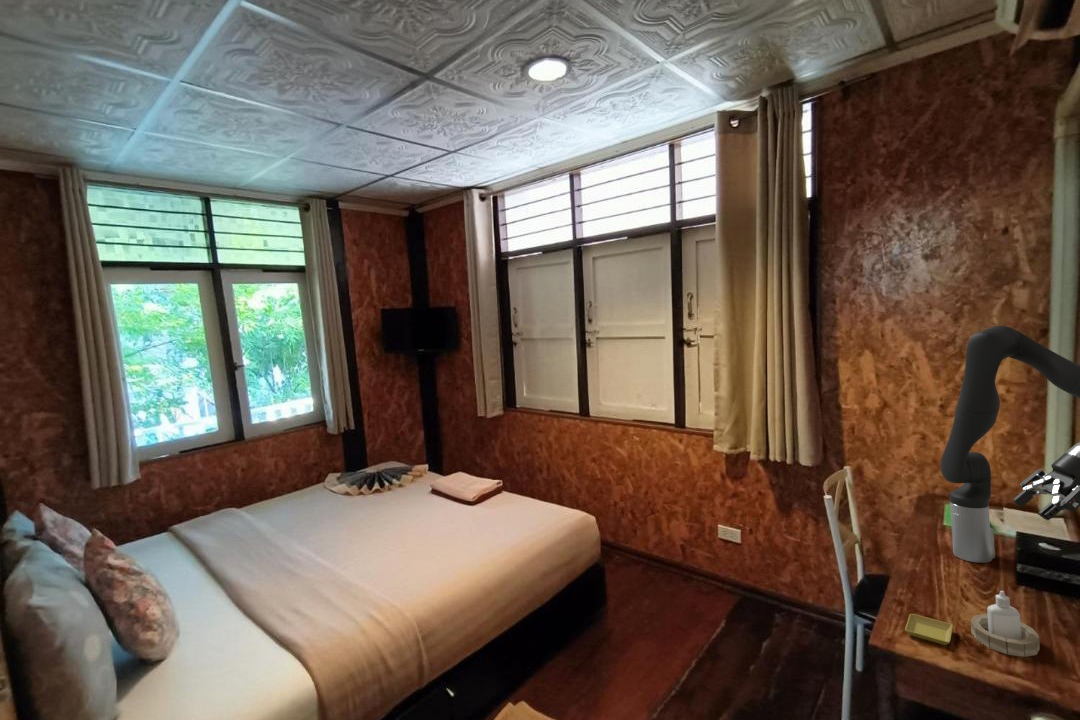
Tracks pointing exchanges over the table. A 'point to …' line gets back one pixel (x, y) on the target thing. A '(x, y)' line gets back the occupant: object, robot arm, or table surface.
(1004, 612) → the eye dropper bottle
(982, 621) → the birch ring collar
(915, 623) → the yellow square tray
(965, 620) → the table surface
